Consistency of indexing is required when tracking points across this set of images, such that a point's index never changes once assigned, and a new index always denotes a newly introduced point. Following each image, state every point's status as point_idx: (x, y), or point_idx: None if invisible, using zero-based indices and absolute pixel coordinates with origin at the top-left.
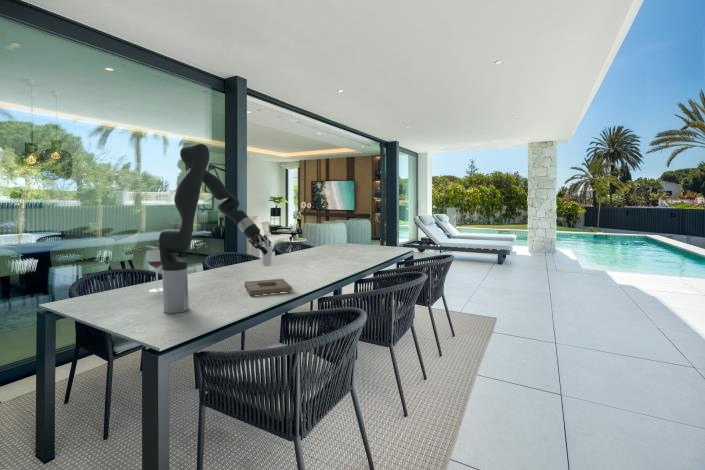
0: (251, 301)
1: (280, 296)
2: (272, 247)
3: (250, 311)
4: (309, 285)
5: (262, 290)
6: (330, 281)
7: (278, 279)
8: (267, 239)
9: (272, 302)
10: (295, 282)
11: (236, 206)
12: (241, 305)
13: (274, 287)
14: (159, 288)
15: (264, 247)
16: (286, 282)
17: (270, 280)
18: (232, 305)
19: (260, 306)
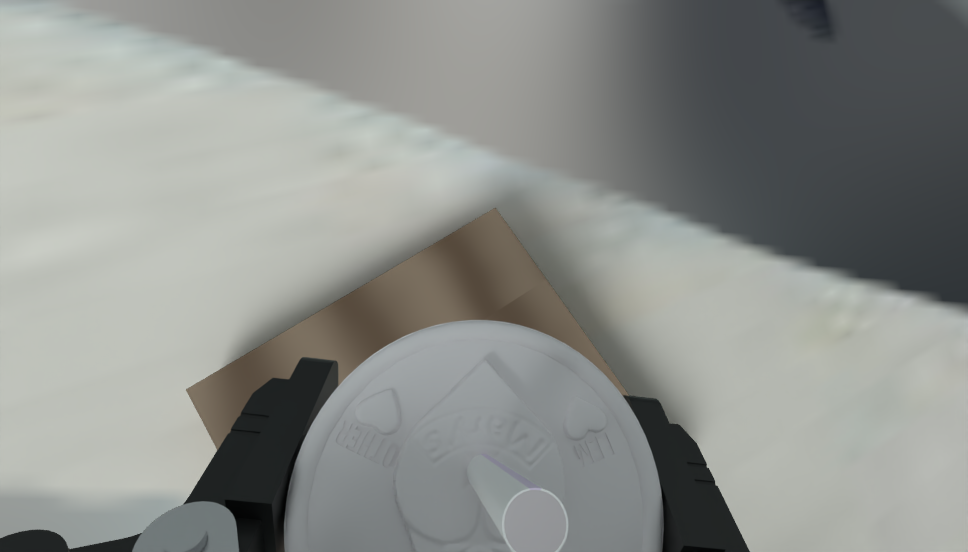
0: (773, 416)
1: (601, 270)
2: (493, 323)
3: (940, 326)
4: (241, 161)
5: None
6: (82, 40)
7: (227, 417)
8: (552, 518)
9: (744, 271)
10: (130, 299)
11: None
12: (872, 438)
13: (550, 331)
14: None
15: (602, 528)
16: (350, 295)
17: None
18: (897, 501)
19: (841, 309)
